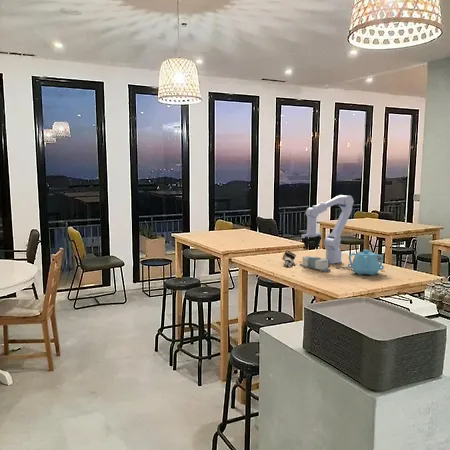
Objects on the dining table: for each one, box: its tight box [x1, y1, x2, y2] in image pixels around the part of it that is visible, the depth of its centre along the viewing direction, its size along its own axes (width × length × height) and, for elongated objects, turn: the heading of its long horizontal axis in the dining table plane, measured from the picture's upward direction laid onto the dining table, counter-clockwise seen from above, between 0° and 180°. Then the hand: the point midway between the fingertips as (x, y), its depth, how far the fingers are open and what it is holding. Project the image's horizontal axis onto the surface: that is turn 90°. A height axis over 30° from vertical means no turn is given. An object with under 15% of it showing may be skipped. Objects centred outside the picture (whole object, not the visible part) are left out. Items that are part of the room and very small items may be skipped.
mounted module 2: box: [315, 258, 329, 270], centre depth 268 cm, size 6×4×5 cm
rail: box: [299, 262, 331, 273], centre depth 274 cm, size 5×22×1 cm, turn 30°
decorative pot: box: [347, 249, 385, 276], centre depth 258 cm, size 16×16×14 cm
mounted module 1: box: [302, 255, 314, 266], centre depth 278 cm, size 6×4×5 cm
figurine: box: [281, 250, 297, 268], centre depth 284 cm, size 9×8×15 cm
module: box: [310, 256, 322, 268], centre depth 273 cm, size 4×5×6 cm
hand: (311, 248), depth 284 cm, fingers open, 7 cm apart
